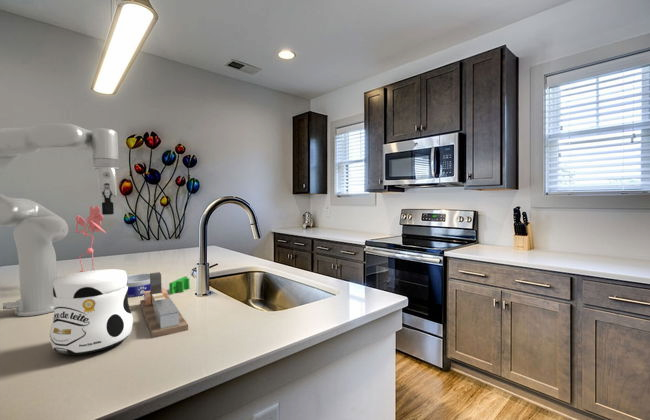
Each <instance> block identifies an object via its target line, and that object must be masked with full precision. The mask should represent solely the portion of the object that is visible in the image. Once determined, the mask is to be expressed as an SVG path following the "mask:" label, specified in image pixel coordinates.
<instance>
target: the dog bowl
mask: <svg viewBox="0 0 650 420" xmlns="http://www.w3.org/2000/svg"><path fill="white" fill-rule="evenodd" d="M150 273H151V272H149V273H146V272H143V273H134V274H133V273H132V274H127V282H128V283H127V286H128V299H129V298H130V297H131V298H138V296H139V297H144V296H143V295H144V292H145V291H150Z"/></svg>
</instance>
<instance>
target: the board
mask: <svg viewBox="0 0 650 420" xmlns="http://www.w3.org/2000/svg"><path fill="white" fill-rule="evenodd" d="M168 298H170V297H169V295H168ZM139 303H140V304H139V305H140V307H141V309H142V312H143V315H144V318H145V321H146V323H147V326H148V329H149V331H150V334H151V337H152V338H153V339H154V338H158V337H163V336H167V335H171V334H176V333H180V332H185V331H189V323H187V320H186V319H185V318H184V317H183V316H182V313H180V312H181V311H179V326H174V327H170V328H165V329H160V327H159V325H158V322H157V320H156V318H155V316H154V309H153V304H152V302H151V304H150V305H146V304H145V302H144V299H142V300H140V302H139Z"/></svg>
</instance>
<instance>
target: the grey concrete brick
mask: <svg viewBox="0 0 650 420" xmlns="http://www.w3.org/2000/svg"><path fill="white" fill-rule="evenodd" d="M153 309H154V316H155V318H156V320H157V322H158V325H159V327H160V329H165V328H170V327H174V326H179V312H180V310H179V309H178V307H177V306H176V304H175V303H174V302H173V300H172V298H170V297H169V298H166V299H161V300H155V301H153Z"/></svg>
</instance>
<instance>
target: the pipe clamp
mask: <svg viewBox="0 0 650 420" xmlns="http://www.w3.org/2000/svg"><path fill="white" fill-rule="evenodd" d="M168 285H169V286H168V287H169V288H168V289H169V295H174V294H176V293H184V292H185V291H186V290H190V289H191V286H190V285H191V284H190V278H189V277H188V275H187V276H183V277H180V278H178V279H176V280H173V281H172V282H171V281H170V282H169V284H168Z"/></svg>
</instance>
